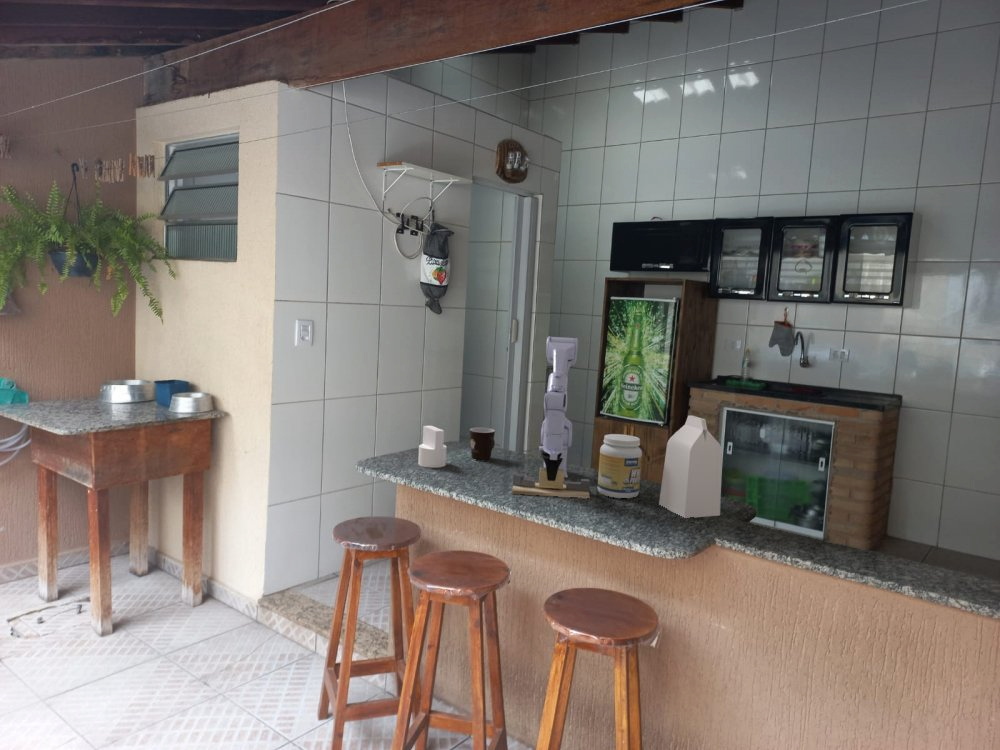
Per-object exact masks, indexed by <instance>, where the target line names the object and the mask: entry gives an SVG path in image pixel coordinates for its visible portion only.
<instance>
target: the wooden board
mask: <svg viewBox="0 0 1000 750" xmlns="http://www.w3.org/2000/svg"><path fill="white" fill-rule="evenodd" d="M520 494H524V495H523V496H536V495H539V496H542V497H553V496H558V497H557V498H570V497H578V498H577V499H587V498H589V499H590V497H591V496H590V491H589V492H588V491H575V490H566V483H564V484H563V489H556V488H544V487H539V482H535V487H534V488H530V487H524V486H516V485H513V484H512V495H520ZM539 496H538V497H539ZM580 497H581V498H580Z"/></svg>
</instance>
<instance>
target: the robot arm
mask: <svg viewBox="0 0 1000 750" xmlns="http://www.w3.org/2000/svg"><path fill="white" fill-rule="evenodd" d="M545 345H546V346H545V355H546V359H547V363H549V364H551V365H553V369H552V370H553V372H551V373H550V374H549V375H548V381H547V387H546V388H547V389H546V392H545V393H544V399H543V410H544V413H543V415H544V420H543V422H542V424H541V430H540V431H541V432H540V444H541V445H538V450H539V451H542V455H543V456H542V459H543V467H546V470H547V479H548V481H555V479H556V476H557V472H558V468H560V469H564V479H565V478H568V472H567V459H568V449H569V448H570V447H571V446H572V442H573V424H572V423H573V422H572V421H571V420H569V419H568V418H567V417H566V412H567V410H568V409H567V408H568V390H567V389H568V382H569V378H568V373H569V370H570V368H571V366H574V365H576V362H577V361H578V359H577V358H578V351H579V349H578V348H579V339H578V338H577V337H575V338H573V337H562V336H561V337H560V336H550V335H549V336H548V337H547V338H546V344H545Z"/></svg>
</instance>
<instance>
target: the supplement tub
mask: <svg viewBox="0 0 1000 750" xmlns="http://www.w3.org/2000/svg"><path fill="white" fill-rule="evenodd" d="M603 437H604V438H603V444H601V446H600V449H599V460H598V461H599V463H598V476H597V491H598V492H599V494H601V495H603V496H605V497H608V496H609V497H610V498H613V497H614V498H613V499H621V498H627V499H633V497H634V498H635V497H638V496H639V492H640V483H641V473H642V472H641V471H642V458H643V450H642V448H641V447H639V446H640V445H641V439H640V438H639V437H637V436H634V435H631V434H629V435H628V434H619V433H610V434H605V435H604V436H603Z"/></svg>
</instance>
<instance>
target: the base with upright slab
mask: <svg viewBox="0 0 1000 750" xmlns="http://www.w3.org/2000/svg"><path fill="white" fill-rule="evenodd" d="M444 438H445V430H443V429H441V428H438V427H436V426H433V425H423V428H422V443H421V444H419V445H418V466H420V467H425V468H430V469H431V468H433V469H434V468H443V467H445V466H446V465H447V448H448V447H447V445H446V444H444V442H445V441H444Z"/></svg>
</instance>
